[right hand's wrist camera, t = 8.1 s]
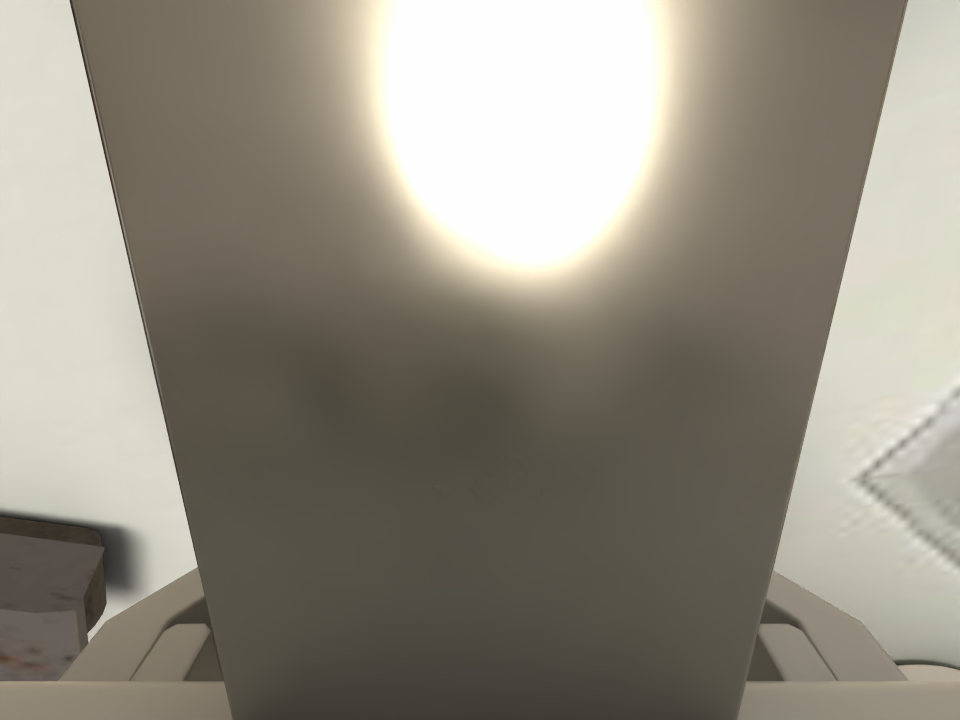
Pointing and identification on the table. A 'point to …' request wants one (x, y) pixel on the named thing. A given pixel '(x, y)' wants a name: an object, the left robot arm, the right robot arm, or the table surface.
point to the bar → (487, 330)
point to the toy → (47, 596)
